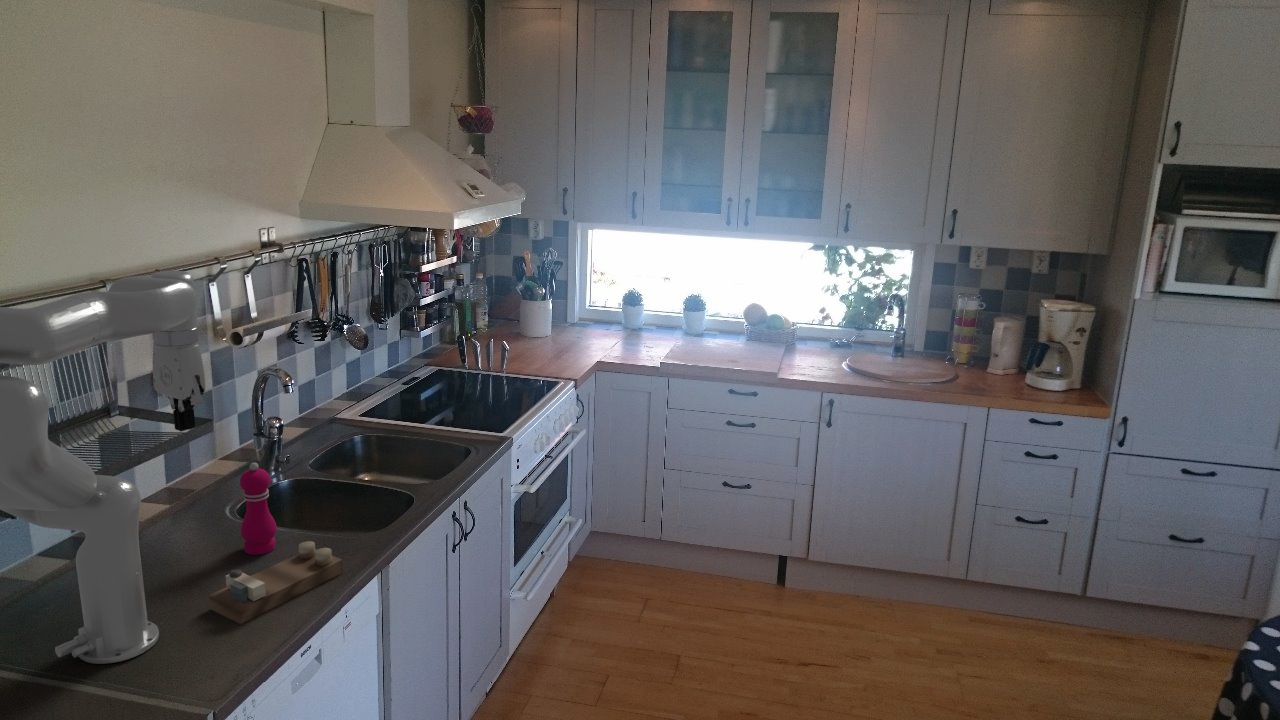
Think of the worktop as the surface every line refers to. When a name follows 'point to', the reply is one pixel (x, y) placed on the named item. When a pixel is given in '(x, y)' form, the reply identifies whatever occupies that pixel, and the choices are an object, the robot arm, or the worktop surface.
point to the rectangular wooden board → (279, 583)
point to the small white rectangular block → (246, 584)
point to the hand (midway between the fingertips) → (185, 428)
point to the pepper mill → (257, 512)
